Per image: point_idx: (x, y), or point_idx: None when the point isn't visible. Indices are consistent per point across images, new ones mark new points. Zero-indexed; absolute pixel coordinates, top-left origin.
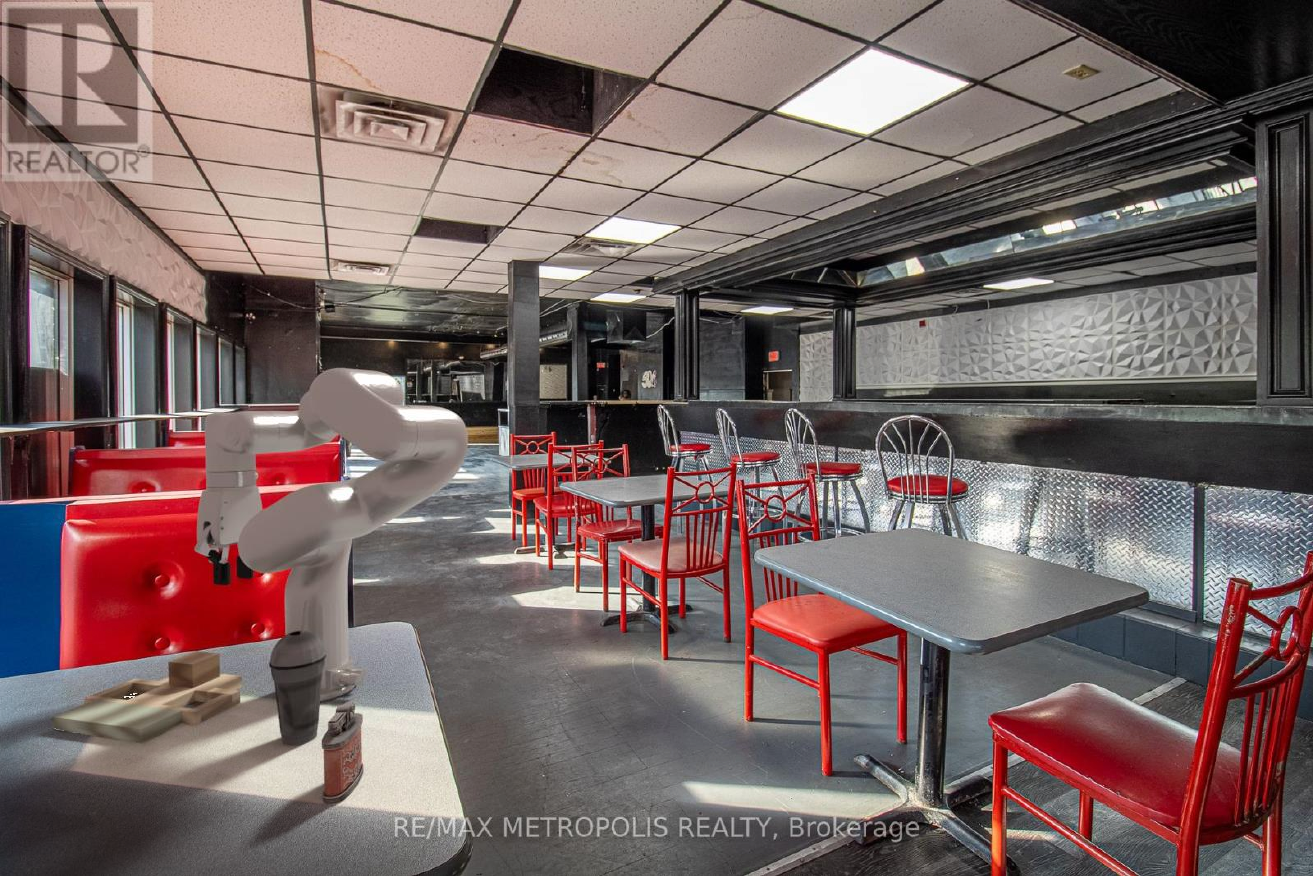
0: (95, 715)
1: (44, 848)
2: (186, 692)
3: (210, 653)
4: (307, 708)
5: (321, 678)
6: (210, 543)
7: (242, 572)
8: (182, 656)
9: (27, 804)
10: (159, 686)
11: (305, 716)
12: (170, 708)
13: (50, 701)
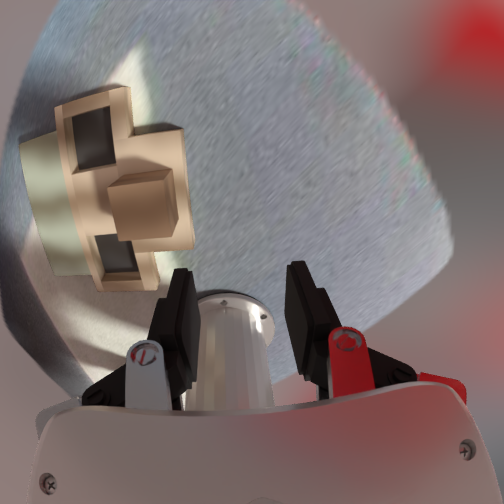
0: (37, 190)
1: (13, 327)
2: None
3: (165, 220)
4: None
5: None
6: (146, 410)
7: (290, 300)
8: (133, 184)
9: (2, 277)
10: (116, 161)
11: None
12: (87, 257)
13: (73, 26)
